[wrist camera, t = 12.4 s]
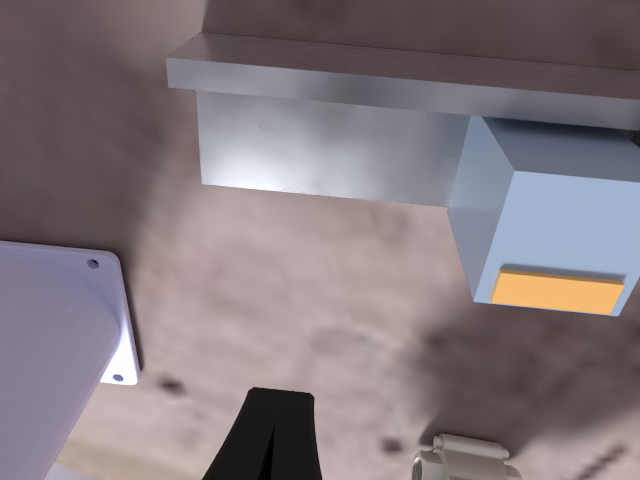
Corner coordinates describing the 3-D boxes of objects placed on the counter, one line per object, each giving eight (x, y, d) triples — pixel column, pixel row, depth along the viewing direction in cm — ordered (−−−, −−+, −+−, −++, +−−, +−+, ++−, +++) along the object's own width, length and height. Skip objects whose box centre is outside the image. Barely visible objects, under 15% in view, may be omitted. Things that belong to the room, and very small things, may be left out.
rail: (208, 171, 19) (151, 269, 14) (200, 31, 16) (125, 86, 11) (687, 217, 19) (814, 333, 13) (761, 81, 16) (958, 162, 11)
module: (447, 212, 18) (474, 306, 14) (473, 103, 16) (517, 174, 11) (557, 223, 18) (621, 321, 14) (600, 115, 16) (691, 191, 11)
